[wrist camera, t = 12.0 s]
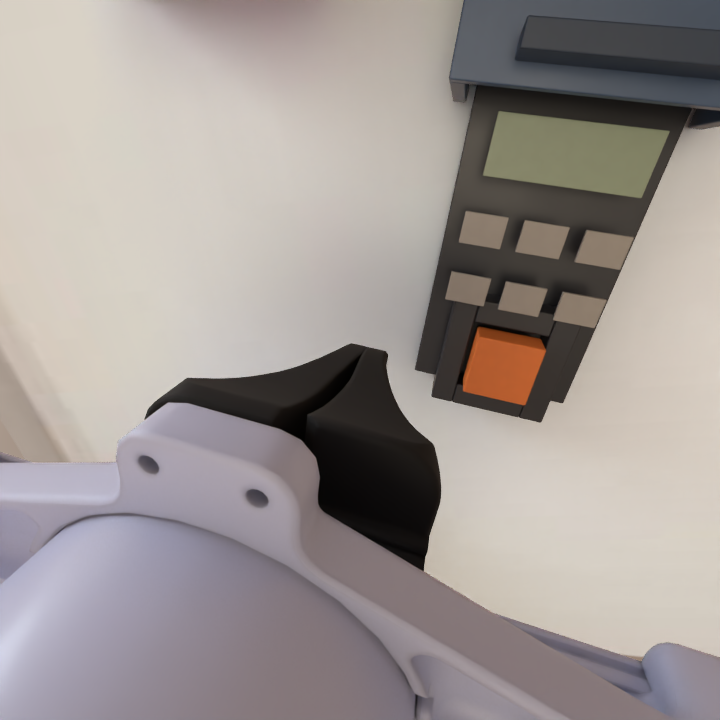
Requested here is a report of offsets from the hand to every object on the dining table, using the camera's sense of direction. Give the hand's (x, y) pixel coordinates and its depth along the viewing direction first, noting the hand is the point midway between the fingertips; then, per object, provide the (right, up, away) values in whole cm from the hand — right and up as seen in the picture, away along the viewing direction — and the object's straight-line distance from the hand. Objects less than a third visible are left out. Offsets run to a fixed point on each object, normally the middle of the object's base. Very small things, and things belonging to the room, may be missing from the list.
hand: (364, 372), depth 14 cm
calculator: (+9, +6, +7) cm, 12 cm away
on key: (+7, 0, +7) cm, 10 cm away
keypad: (+8, +6, +4) cm, 11 cm away
